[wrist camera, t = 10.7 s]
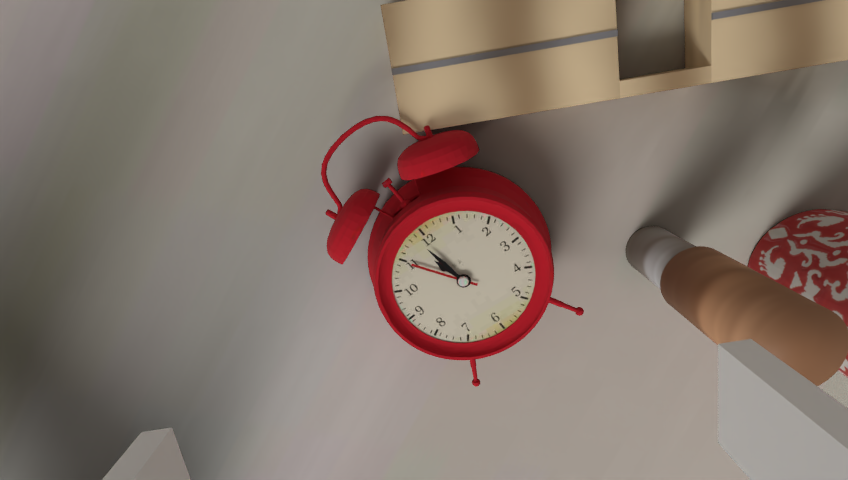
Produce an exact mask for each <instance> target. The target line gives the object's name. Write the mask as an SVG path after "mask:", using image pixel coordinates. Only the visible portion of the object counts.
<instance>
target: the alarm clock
mask: <svg viewBox="0 0 848 480" xmlns="http://www.w3.org/2000/svg"><path fill="white" fill-rule="evenodd" d="M377 121H387V122H390V123H393V124H396V125H398V126H399V127H401V128H403V129H404V130H405V131H407V132H408V133H409V134H411V135H412V136H413V137H414V138H416V139H417V140H419V141H418V142H416V143H414V144H412V145H411V146H409V147H408V148H406V149H405V150H404V151H403V152H402V154H401V155H400V157H399V158H398V164H397V166H398V171H399V174H400V177H401V179H402V180H411V181H410V182H408V183H407V184H405V185H404V186H402V187H401V188H400V189H399V190H398V191H396V189H395V188H394V187H393V186H392V185H391V183H392V181H391V180H390V179H389V178H388V179H387V180H386V181H384V182H383V183H382V185H383V186H384V187H385V188H386V187H389V189H390V190H391V191H392V192H393V193H394V195H393V196H392V197H391V198H390V199H389V200H388V201H387V202H386V203H385V205H384V206H383V208H382V209H379V208H377V207H375V205H376V203H377V200H378V198H379V195H380V194H379V193H377V192H375V191H373V190H370V189H361V190H359V191H357V192H355V193H354V194H353V195H351V197H350V198H349V199H348V200H347V202H346V203H345V204H344V206H343V207H342V204H341V202H340V201H339V199H338V198H337V196H336V195H335V193H334V192H333V190H332V188H331V186H330V185H329V183H328V179H327V175H326V170H327V164H328V161H329V159H330V158H331V156H332V154H333V153H334V151H335V150H336V149H337V147H338V146H339V145H340V144H341V143H342V142H343V141H344V140H345V139H346V138H347V137H348V136H350V135H351V134H352V133H353V132H355V131H356V130H358V129H359V128H361V127H363V126H365V125H367V124H370V123H372V122H377ZM424 130H425V133H426V136H420V135H418V134H417V133H416V132H415V131H414V130H412V129H411V128H410V127H409V126H407V125H406V124H404V123H403V122H401V121H399V120H398V119H395V118H392V117H389V116H375V117H371V118H368V119H365V120H363V121H361V122H359V123H357V124H356V125H354V126H353V127H352V128H350V129H349V130H348V131H346V132H345V133H344V134H342V135H341V136H340V138H339V139H338V140H337V141H336V142H335V143H334V144H333V145H332V146H331V148H330V149H329V151H328V152H327V154H326V156H325V158H324V160H323V163H322V170H321V175H322V180H323V183H324V186H325V187H326V189H327V191H328V193H329V194H330V196H331V197H332V199H333V200H334V201H335V203H336V204H337V206H338V212H337V214H336V213H334V212H332V211H330V210H327V211H326V215H328V216H329V217H331V218H333V219H334V220H335V221H334V224H333V226H332V228H331V230H330V233H329V236H328V239H327V251H328V254H329V255H330V257H331V258H332V259H333V260H335V261H336V262H338V263H340V264H343V263H344V261H345V260H346V258H347V256H348V255H349V253H350V251H351V250H352V248H353V246H354V244H355V243H356V241H357V239H358V237H359V235H360V234H361V232H362V230H363V228H364V226H365V224H366V222H367V221H368V219H369V217H370V215H371V213H372V211H373V209H376V210H378V211H380V213H379V215H378V217H377V219H376V221H375V223H374V226H373V229H372V232H371V235H370V240H369V246H368V267H369V273H370V277H371V280H372V283H373V286H374V291H375V296H376V299H377V302H378V305H379V307H380V310H381V312H382V314H383V315H384V317H385V319H386V320H387V322H388V323H389V325H390V326H391V327H392V329H393V330H394V331H395V332H396V333H397V334H398V335H399V336H400V337H401V338H402V339H403V340H404V341H406V342H407V343H408V344H410V345H411V346H413V347H415V348H416V349H418V350H420V351H422V352H425V353H427V354H429V355H433V356H436V357H440V358H444V359H451V360H470V364H471V367H472V372H473V377H474V379H473V381H472V384H473V385H474V386H479V384H480V380H479V379H477V371H476V361H475V359H480V358H484V357H488V356H491V355H494V354H497V353H500V352H502V351H504V350H506V349H508V348H510V347H511V346H513V345H515V344H516V343H517V342H519V341H520V340H522V339H523V338H524V337H525V336H526V335H527V334H528V333H529V332H530V331H531V330H532V329H533V328H534V327H535V326H536V324H537V323H538V321H539V320H540V319H541V317H542V315H543V313H544V312H545V310H546V307H547V305H548V303H551V304H554V305H557V306H559V307H563V308H566V309H569V310H571V311H574V312H576V314H577V315H579V316H580V315H582V314H583V312H584V310H583V309H582V308H581V307H578V308H575V307H572V306H570V305H567V304H565V303H563V302H561V301H559V300H556V299H554V298H551V297H550V296H551V293H552V287H553V280H554V265H553V258H552V253H551V240H550V235H549V231H548V228H547V225H546V222H545V220H544V217H543V216H542V214H541V212H540V210H539V208H538V207H537V206H536V204H535V203H534V202H533V200H532V199H531V198H530V197H529V196H528V195H527V194H526V193H525V192H524V191H523V190H522V189H521V188H520V187H519V186H517V185H516V184H514V183H513V182H512V181H510V180H508V179H507V178H505V177H503V176H501V175H498V174H496V173H493V172H490V171H487V170H483V169H478V168H471V167H454V166H456V165H458V164H461V163H463V162H465V161H467V160H469V159H470V158H472V157H473V156H475V155H476V154H477V153H478V151H479V148H478V145H477V142H476V141H475V139H474V137H473V136H472V135H471V134H470V133H469V132H466V131H463V130H451V131H445V132H441V133H437V134H434V135H433V134H432V132H431V129H430V126H428V125H427V126H425V127H424Z"/></svg>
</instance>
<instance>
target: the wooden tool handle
mask: <svg viewBox="0 0 848 480" xmlns="http://www.w3.org/2000/svg"><path fill="white" fill-rule="evenodd" d="M626 257H627V260H628V262H629V263H630V265H631V266H633V267H634V268H635V269H636V270H637V271H639V272H640V273H641V274H642V275H644V276H645V277H646V278H647V279H648V280H650V281H651V282H652V283H653V284H655V285H656V286H657V287H658V288H660V289H661V293H662V295H663V297H664V299H665V300H666V301H667V303H668V304H670V305H671V306H672V307H673V308H674V309H675V310H677V311H678V312H679V313H680V314H681V315H683V316H684V317H685V318H686V319H687V320H689V321H690V322H691V323H692V324H693V325H694V326H696V327H697V328H698V329H699V330H700V331H702V332H703V333H704V334H705V335H706V336H707V337H709V338H710V339H711V340H712V341H713V342H715V343H716V344H717V345H718V344H721V343H727V342H734V341H740V340H747V339H752V340H753V341H755V342H756V343H758V344H759V345H760V346H762V347H763V348H764V349H766V350H767V351H769V352H770V353H771V354H773V355H774V356H776V357H777V358H778V359H780V360H781V361H783V362H784V363H785V364H787V365H788V366H790V367H791V368H792V369H794V370H795V371H797V372H798V373H799V374H801V375H802V376H804V377H805V378H806V379H808V380H809V381H811V382H812V383H813V384H815V385H816V386H818V385H820V384H822V383H824V382H825V381H826V380H828V379H829V378H830V377H832V376H833V375H834V374H835V373H836V372H837V371H838V369H839V368H840V367H841V365H842V364H843V362H844V360H845V358H846V356H847V353H848V328H847V326H846V324H845V322H844V321H843V320H842V318H840V317H839V316H838V315H837V314H836V313H834V312H832V311H831V310H829V309H827V308H825V307H823V306H821V305H819V304H817V303H815V302H814V301H812V300H810V299H808V298H806V297H804V296H802V295H800V294H798V293H796V292H795V291H793V290H791V289H789V288H787V287H785V286H783V285H781V284H779V283H777V282H776V281H774V280H772V279H770V278H768V277H766V276H764V275H762V274H760V273H758V272H757V271H755V270H753V269H751V268H749V267H747V266H745V265H743V264H741V263H739V262H738V261H736V260H734V259H732V258H730V257H728V256H726V255H724V254H722V253H720V252H719V251H717V250H715V249H712V248H709V247H701V246H699V247H696V246H694V245H692V244H691V243H689V242H687V241H685V240H683V239H682V238H680V237H678V236H676V235H674V234H673V233H671V232H669V231H667V230H665V229H663V228H661V227H658V226H647V227H644V228H641V229H639V230H638V231H636V232H635V233H634V234H633V235H632V236H631V237H630V239H629V241H628V243H627V246H626Z"/></svg>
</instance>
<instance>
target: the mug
mask: <svg viewBox="0 0 848 480" xmlns="http://www.w3.org/2000/svg"><path fill="white" fill-rule="evenodd" d="M748 267H749V268H751V269H753V270H755V271H757V272H758V273H760V274H762V275H764V276H766V277H768V278H770V279H772V280H774V281H776V282H777V283H779V284H781V285H783V286H785V287H787V288H789V289H791V290H793V291H795V292H796V293H798V294H800V295H802V296H804V297H806V298H808V299H810V300H812V301H814V302H815V303H817V304H819V305H821V306H823V307H825V308H827V309H829V310H831V311H832V312H834V313H836V314H837V315H838V316H839V317H840V318H842V320H843V321H844V322H845V324H846V326H847V328H848V212H844V211H838V210H826V209H815V210H810V211H805V212H801V213H798V214H795V215H793V216H791V217H788V218H786V219H785V220H783V221H781V222H780V223H778V224H777V225H776V226H774V227H773V228H771V229H770V230H769V231H768V232H767V233H766V234H765V235H764V236H763V237H762V239H761V240H760V241H759V242H758V244H757V246H756V247H755V249H754V251H753V252H752V254H751V257H750V260H749V263H748ZM838 371H839V372H841V373H842V374H843V375H844V376H846V377H847V378H848V353H847V356H846V358H845V360H844V362H843V364H842V365H841V367H840V368H839V369H838Z"/></svg>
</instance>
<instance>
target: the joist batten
mask: <svg viewBox="0 0 848 480" xmlns="http://www.w3.org/2000/svg"><path fill="white" fill-rule="evenodd" d="M381 10H382V16H383V22H384V28H385V33H386V39H387V45H388V51H389V57H390V62H391V68H392V75H393V80H394V85H395V91H396V97H397V103H398V109H399V114H400V120H401V122H403V123H404V124H406V125H407V126H409V127H410V128H411V129H412V130H414V131H415V132H422V131H425V130H424V127H425V126H427V125H428V126H430V129H431V130H434V129H439V128H445V127H451V126H457V125H463V124H469V123H475V122H481V121H487V120H493V119H499V118H505V117H511V116H517V115H523V114H529V113H535V112H541V111H547V110H553V109H559V108H565V107H571V106H577V105H583V104H588V103H594V102H600V101H606V100H612V99H618V98H624V97H630V96H636V95H642V94H648V93H654V92H660V91H666V90H672V89H678V88H684V87H690V86H696V85H702V84H708V83H714V82H720V81H726V80H731V79H737V78H743V77H749V76H755V75H761V74H767V73H773V72H779V71H785V70H791V69H797V68H803V67H809V66H815V65H821V64H827V63H833V62H839V61H845V60H848V0H684V24H685V68H684V69H678V70H672V71H666V72H660V73H654V74H648V75H642V76H637V77H631V78H625V79H619V62H618V42H617V36H618V29H617V22H616V2H615V0H406V1H400V2H395V3H389V4H383V5H381ZM402 132H403V135H404V134H409V133H408V132H407V131H405V130H404V129H403V128H402Z"/></svg>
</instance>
